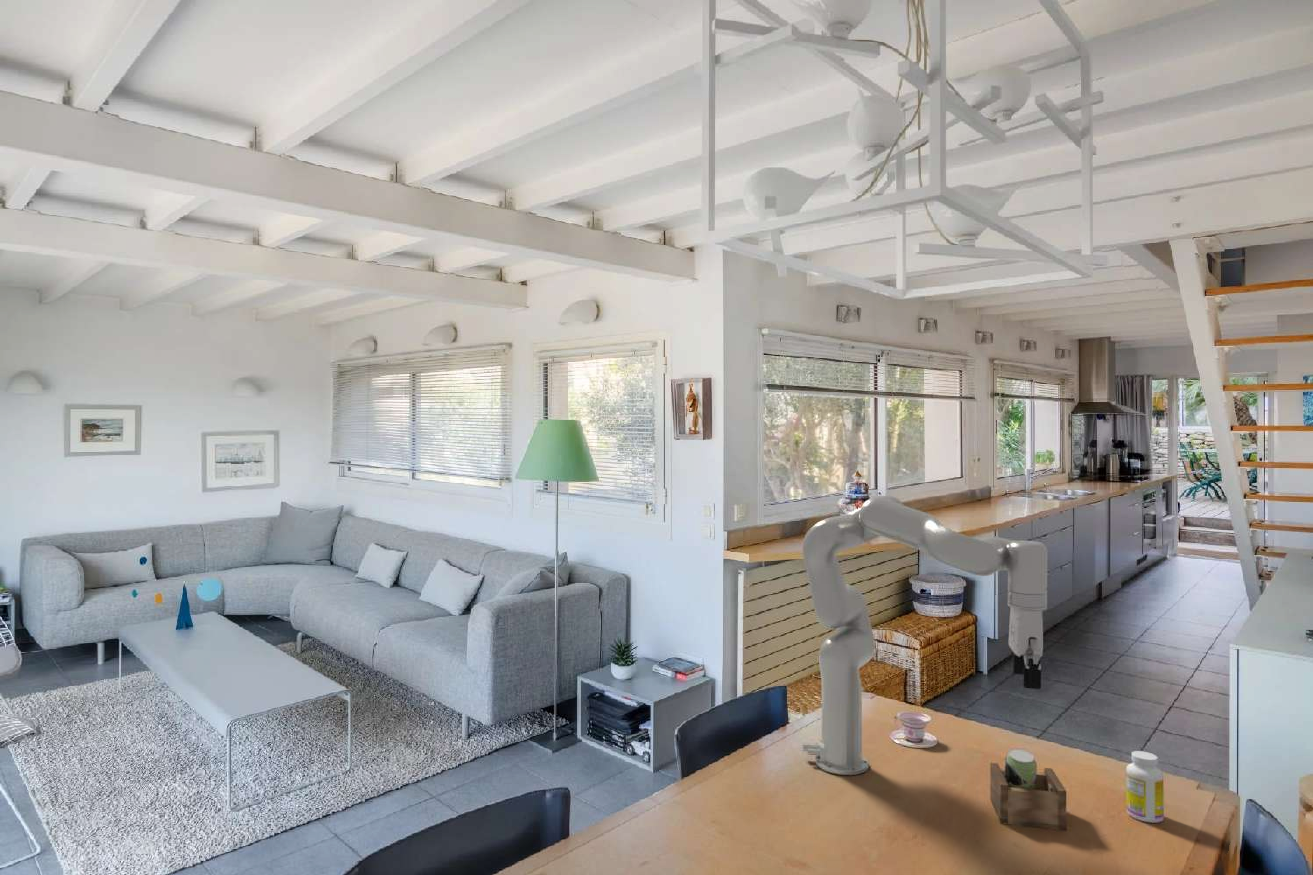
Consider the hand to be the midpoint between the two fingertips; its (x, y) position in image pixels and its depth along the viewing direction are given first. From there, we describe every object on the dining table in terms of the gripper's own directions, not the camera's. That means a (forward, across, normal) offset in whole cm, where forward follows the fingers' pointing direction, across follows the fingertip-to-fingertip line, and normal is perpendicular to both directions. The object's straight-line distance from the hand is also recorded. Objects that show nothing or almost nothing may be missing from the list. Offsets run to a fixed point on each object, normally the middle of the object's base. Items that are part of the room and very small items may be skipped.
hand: (1026, 680), depth 163 cm
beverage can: (+27, 0, -1) cm, 27 cm away
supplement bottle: (+28, -5, +24) cm, 38 cm away
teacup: (+29, -37, -19) cm, 50 cm away
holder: (+28, 0, 0) cm, 28 cm away
